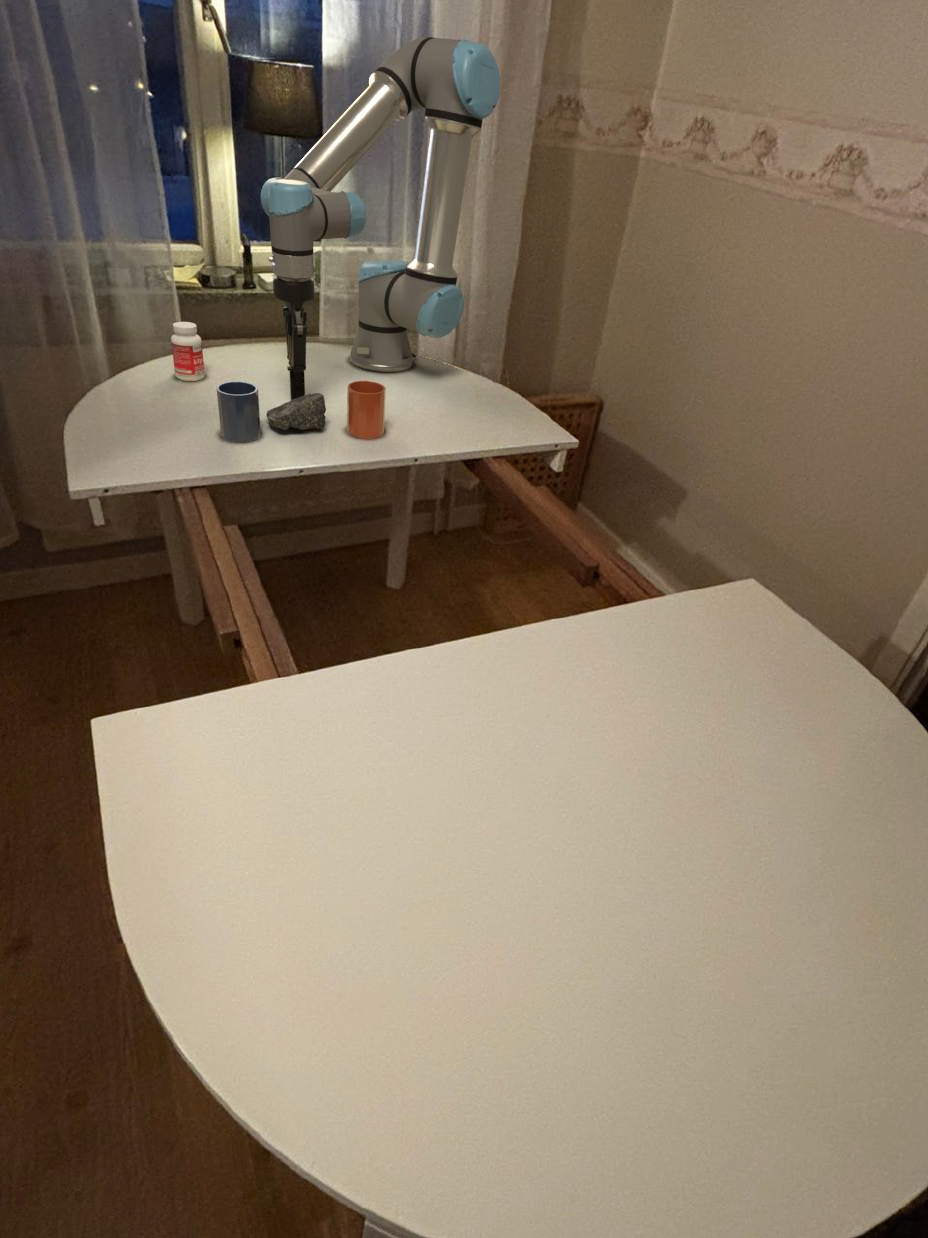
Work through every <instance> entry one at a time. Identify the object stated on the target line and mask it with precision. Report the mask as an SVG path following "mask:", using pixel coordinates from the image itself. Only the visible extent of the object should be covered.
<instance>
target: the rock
mask: <svg viewBox="0 0 928 1238" xmlns="http://www.w3.org/2000/svg"><path fill="white" fill-rule="evenodd" d="M326 411H327V408H326V400H325V396H324V394H322V393H320V392H314V393H307V394H305V396H302V397H299V398H296V399H293V400H291V399H290V400H289V401H286V402H285V403H283V404H281V405H279V406H276V407H273V408H271V409H269V410H267V411H266V414H265V415H266V418H267V420H268V422H269V423H270V425H271V426H272V427H274V428H276V429H281V430H282V431H287V430H289V428H294V429H298V430H300V431H306V430H309V429H323V428H324V427H325V424H326V417H327V416H326V415H325V414H326Z"/></svg>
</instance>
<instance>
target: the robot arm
mask: <svg viewBox="0 0 928 1238" xmlns="http://www.w3.org/2000/svg"><path fill="white" fill-rule="evenodd" d="M500 93H501V76H500V69H499V66H498V64H497V62H496V58H495V55H494V54H493V52H492V51H491V49H489V47H488V46H486V45H485V44H482V43H480V42H475V41H471V40H467V39H452V38H441V37H434V36H423V37H418V38H414V39H413V40H410V41H408V42H407V43H406V44H404V45H402V46H401V47H400V48H398V49H396V50H395V51H394V52H393V53H392V54H391V55H389V56H388V57H387V58H386V59H385V60H384V61H383V62H382V63H381V64H380V65H378V67H377V68H376V69H375V70H374V71H373V72H372V73H371V75H370V76H369V79H368V86H367V88H365V90H364V91H363V92H362V93H361V94H360V96H358V97H357V99H355V101H354V102H353V103H352V104H351V105H350V106H349V107H348V108H347V109H346V111H344V113H343V114H341V116H340V117H339V118H338V119H337V121H335V122H334V124H332V126H331V127H330V128H329V129H328V130H327V131H326V133H324V134H323V136H322V137H321V138H320V139H319V140H318V141H317V142H316V143H315V144H314V145H313V146H312V148H310V150H309V151H308V152H307V153H306V154H305V155H304V157H303V158H302V159H301V160H300V161H299V162H298V163H297V164H296V165H295V166H294V167H293V169H291V170H290V172H288V174H287V175H286V176H285V177H272V178H269V179H268V180H266V181H265V182H264V183H263V185H262V188H261V191H260V203H261V207H262V209H263V210H264V213H265V214H266V215H267V216H268V218H269V232H270V234H269V235H270V247H271V255H272V256H271V255H270V256H268V262H269V263H271V264H272V273H273V275H274V276H273V278H272V291H273V297H274V298H275V300H277V301H279V302H282V303H285V306H284V307H282V315H283V317H284V329H285V338H286V340H285V341H286V354H287V355H286V358H287V360H288V365H289V366H286V368H287V369H286V370H287V371H288V372H289V391H290V401H291V400H293V399H296V398H299V397H302V396H306V388H305V387H306V386H305V384H306V383H305V382H306V381H305V371H306V370H307V332H308V331H307V330H308V325H307V323H306V322H307V320H308V315H307V314H308V313H307V311H305V308H304V306H303V305H305V304H306V303H307V304H308V303H311V302H313V301H314V299H315V280H314V279H313V277H314V276H315V252H314V241H319V240H333V239H344V240H345V239H348V238H353V237H357V236H359V235H360V234H361V233H362V232H363V231H364V230H365V227H366V222H367V211H366V206H365V204H364V202H363V200H362V198H361V197H360V196H359V195H358V194H356V193H354V192H348V191H347V192H346V191H343V190H342V191H339V192H338V191H336V192H335V191H333V190H334V189H335V188H336V187H337V186H338V185H339V183H340V182H341V181H342V180H343V179H344V177H346V175H347V174H348V173H349V172H350V171H352V169H353V168H354V167H355V166H356V164H357V163H359V161H360V160H361V159H362V158H363V157H364V155H365V154H366V153H367V152H368V151H369V150H370V149H371V148H372V147H373V145H375V143H376V142H377V141H378V140H379V139H380V138H381V137H382V136H383V135H384V133H386V131H388V129H389V128H390V127H391V126H392V125H393V124H394V123H395V122H396V121H397V122H401V121H403V120H404V119H406V118H407V117H408V115H409V114H410V113H412V112H414V111H416V110H419V109H420V110H421V109H424V120H425V122H426V123H427V125H428V127H429V130H430V132H429V138H428V146H427V153H426V154H427V155H426V162H425V170H424V177H423V184H422V190H421V191H422V193H421V200H420V208H419V216H418V223H417V229H416V231H417V232H416V239H415V246H414V247H415V248H414V253H413V254H414V255H413V258H412V259H411V261H409V262H408V261H405V260H391V259H390V260H389V259H388V260H387V259H382V260H381V259H379V260H370V261H369V260H368V261H365V262H363V263H362V264H361V265H360V269H359V278H358V325H357V327H358V328H357V331H356V334H355V337H354V340H353V342H352V346H351V349H350V353H349V354H350V358H349V359H350V363H351V364H353V366H355V367H357V368H361V369H364V370H367V371H372V372H379V373H397V372H405V371H407V370H408V369H409V370H410V368H411V367H412V366H413V361H414V360H413V359H416V358H417V355H416V354H415V353H413V352H412V348H411V344H410V341H409V336H408V330H410V331H413V332H415V333H417V334H419V335H421V336H423V337H429V338H433V339H441V338H445V337H446V336H448V335H449V334H451V333H452V331H453V330H454V329H456V327H457V325H458V324H459V322H460V320H461V319H462V316H463V312H464V308H465V298H464V296H463V292H462V290H461V289H460V288H459V287H458V286H457V282H458V273H457V271H456V270H455V268H454V266H453V264H454V257H455V253H456V252H455V250H456V245H457V239H458V238H457V237H458V231H459V226H460V220H461V219H460V218H461V214H462V213H461V212H462V206H463V200H464V194H465V187H466V181H467V180H466V179H467V173H468V168H469V161H470V154H471V147H472V142H473V138H474V137H475V136H476V135H477V134H478V133H479V132H481V131H482V127H483V120H484V119H486V118H487V117H489V116H491V114H492V113H493V111H494V109H496V107H497V104H498V102H499V98H500Z"/></svg>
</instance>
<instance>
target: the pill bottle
mask: <svg viewBox="0 0 928 1238" xmlns="http://www.w3.org/2000/svg"><path fill="white" fill-rule="evenodd" d="M172 331H173V332H174V334H172V335H171V337H170V343H171V344H170V345H171V351H172V361H173V369H174V375H175V377H176V378H177V379H178V380H181V381H185V382H186V381H187V382H196V381H201V380H203V379H204V378H205V377H206V372H205V362H204V351H203V343H202V337H201V336H200V335H198V334H197V332H198V327H197V323H194V322H190V321H177V322H174V323H172Z"/></svg>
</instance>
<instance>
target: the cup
mask: <svg viewBox="0 0 928 1238" xmlns="http://www.w3.org/2000/svg"><path fill="white" fill-rule="evenodd" d="M216 398H217V407H218V408H217V409H218V419H219V430H220V436H221V438H222V439H224V440H225V441H228V442H230V443H231V442H232V443H238V444H239V443H251V442H254V441H257V440H258V439H260V438H261V433H262V432H261V418H260V417H261V416H260V399H259V388H258V386H257V385H255V384H254V383H251V382H247V381H241V380H239V381H238V380H237V381H232V380H231V381H226V382H225V381H224V382H222V383H219V384H218V385H217V386H216Z"/></svg>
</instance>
